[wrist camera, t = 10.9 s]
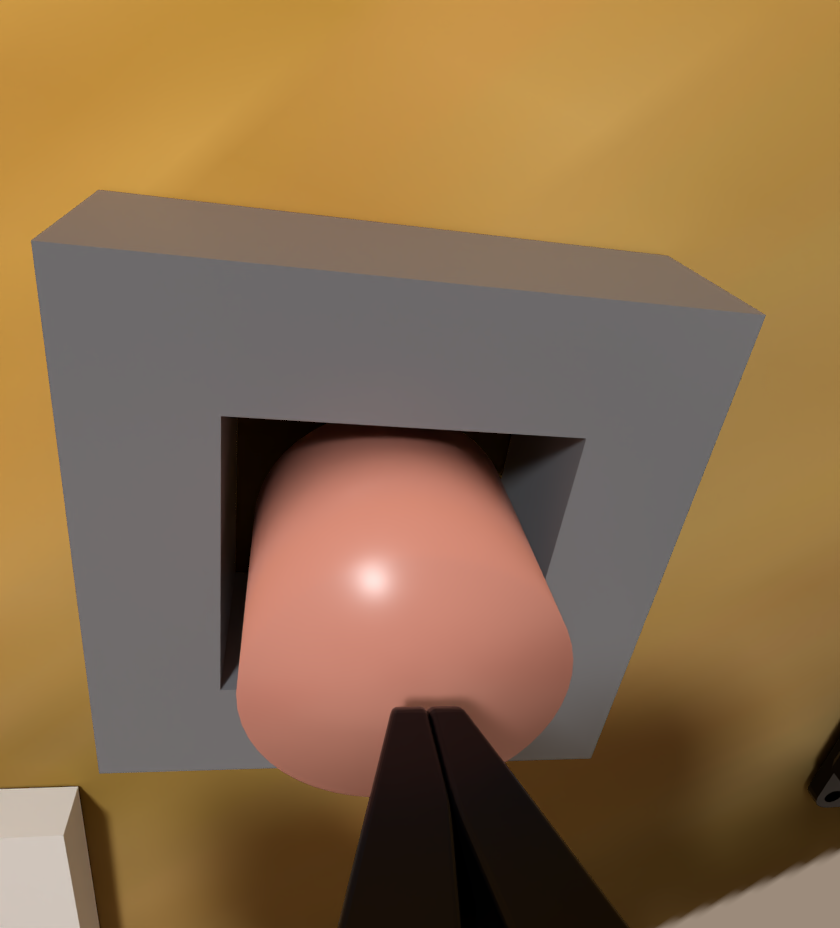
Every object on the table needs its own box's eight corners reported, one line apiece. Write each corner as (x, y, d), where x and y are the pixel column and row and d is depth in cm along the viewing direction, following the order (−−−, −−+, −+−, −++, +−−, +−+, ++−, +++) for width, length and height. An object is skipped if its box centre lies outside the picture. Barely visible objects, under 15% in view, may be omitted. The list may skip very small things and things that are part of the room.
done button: (528, 419, 11) (612, 561, 8) (480, 618, 13) (532, 792, 10) (257, 402, 10) (237, 552, 7) (251, 616, 13) (234, 803, 10)
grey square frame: (668, 255, 12) (765, 315, 9) (546, 646, 16) (591, 758, 14) (98, 189, 10) (31, 240, 8) (134, 645, 15) (99, 773, 12)
